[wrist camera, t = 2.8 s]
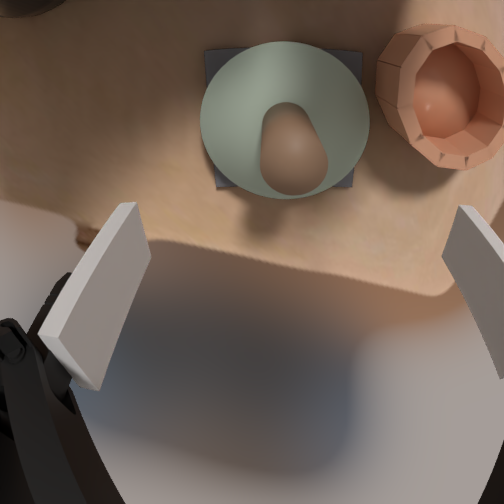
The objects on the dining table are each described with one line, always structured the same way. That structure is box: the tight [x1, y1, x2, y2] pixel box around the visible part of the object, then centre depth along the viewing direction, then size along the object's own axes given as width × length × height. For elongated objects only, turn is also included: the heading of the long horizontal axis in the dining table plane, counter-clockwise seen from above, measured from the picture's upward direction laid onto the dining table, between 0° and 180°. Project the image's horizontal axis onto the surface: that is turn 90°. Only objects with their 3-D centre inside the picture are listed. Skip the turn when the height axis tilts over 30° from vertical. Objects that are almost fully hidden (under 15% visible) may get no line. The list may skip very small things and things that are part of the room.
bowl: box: [375, 24, 504, 170], centre depth 19 cm, size 11×11×5 cm
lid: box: [200, 41, 370, 199], centre depth 20 cm, size 13×13×10 cm
